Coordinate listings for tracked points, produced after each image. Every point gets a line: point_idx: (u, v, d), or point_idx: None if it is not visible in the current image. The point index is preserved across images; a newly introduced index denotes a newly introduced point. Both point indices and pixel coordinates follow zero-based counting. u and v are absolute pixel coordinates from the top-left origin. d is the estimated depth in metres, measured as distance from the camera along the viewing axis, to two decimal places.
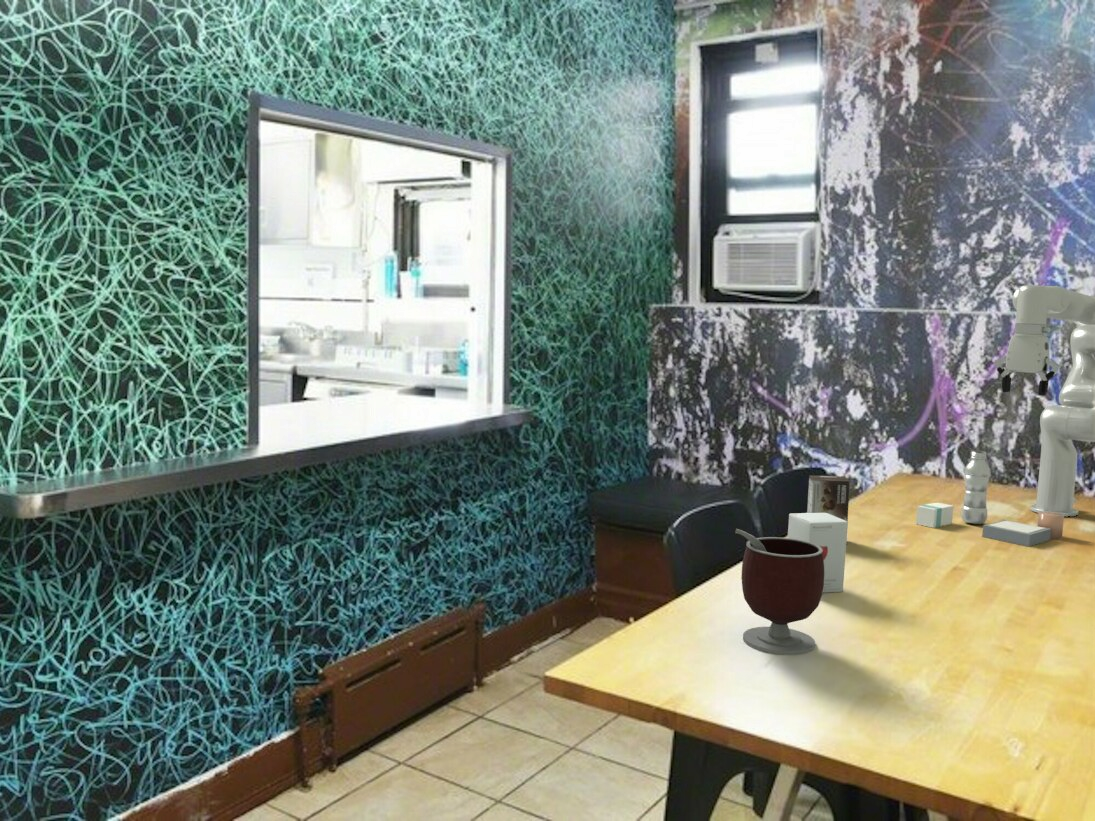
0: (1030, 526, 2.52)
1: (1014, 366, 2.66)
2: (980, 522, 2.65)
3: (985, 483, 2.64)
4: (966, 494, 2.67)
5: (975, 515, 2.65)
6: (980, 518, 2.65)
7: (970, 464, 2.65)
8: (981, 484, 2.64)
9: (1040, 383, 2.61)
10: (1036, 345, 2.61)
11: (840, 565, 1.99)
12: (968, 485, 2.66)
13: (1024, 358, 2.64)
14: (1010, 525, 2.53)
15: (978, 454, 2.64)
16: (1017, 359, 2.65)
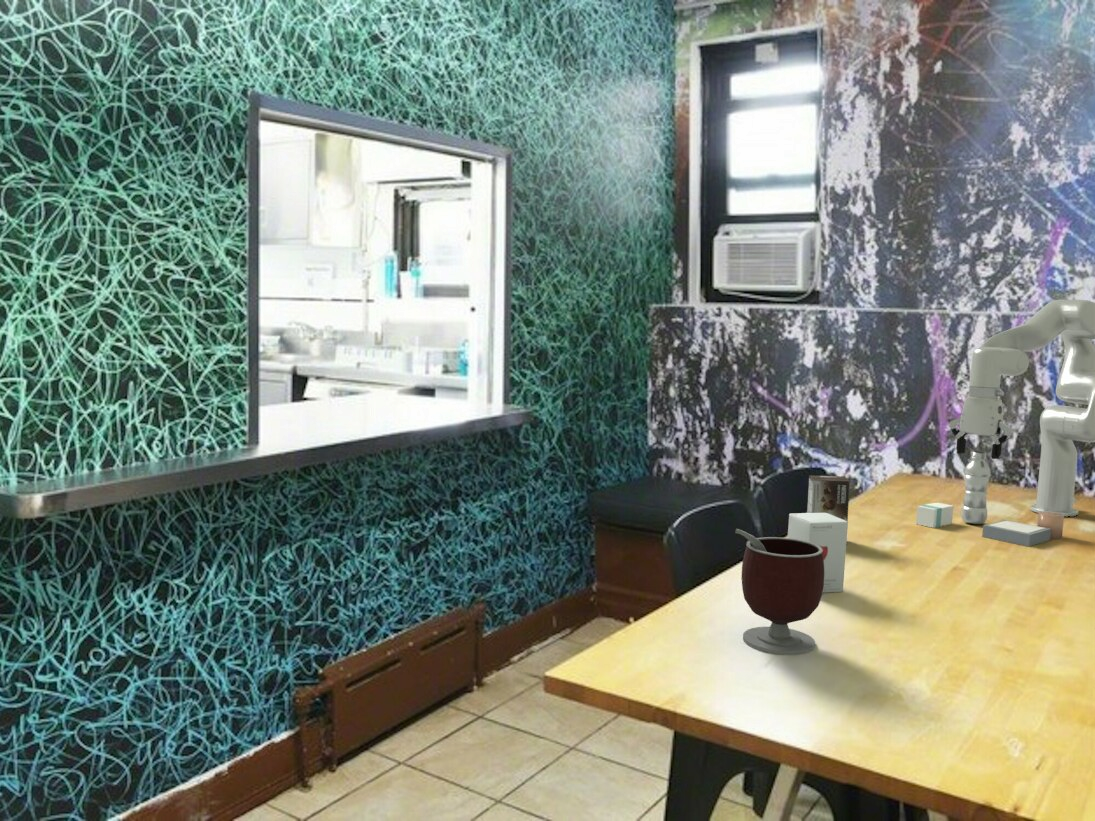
0: (1030, 526, 2.52)
1: (968, 428, 2.65)
2: (980, 522, 2.65)
3: (985, 483, 2.64)
4: (966, 494, 2.67)
5: (975, 515, 2.65)
6: (980, 518, 2.65)
7: (970, 464, 2.65)
8: (980, 484, 2.64)
9: (993, 447, 2.61)
10: (989, 408, 2.60)
11: (840, 565, 1.99)
12: (968, 485, 2.66)
13: (978, 421, 2.63)
14: (1010, 525, 2.53)
15: (978, 454, 2.64)
16: (971, 421, 2.64)
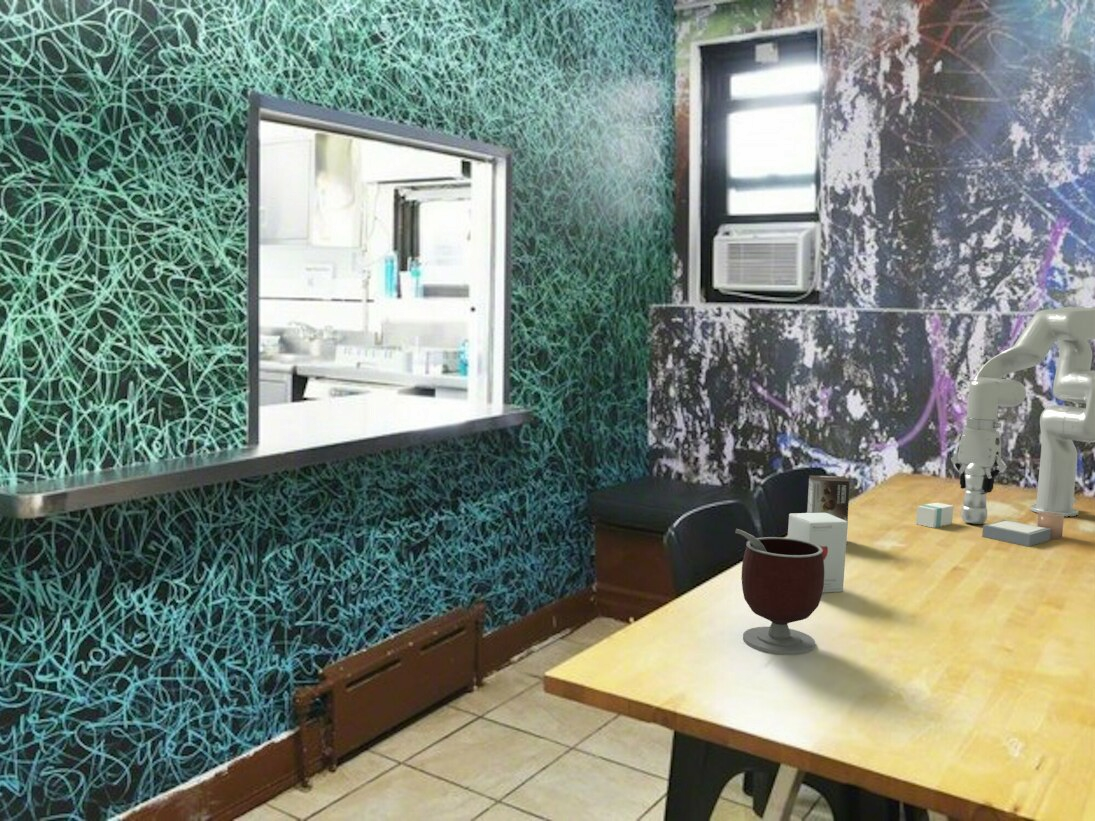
0: (1030, 526, 2.52)
1: (966, 460, 2.66)
2: (980, 522, 2.65)
3: None
4: (966, 494, 2.67)
5: (975, 515, 2.65)
6: (980, 518, 2.65)
7: (970, 464, 2.65)
8: (981, 484, 2.64)
9: (985, 481, 2.63)
10: (987, 440, 2.62)
11: (840, 565, 1.99)
12: (968, 485, 2.66)
13: (975, 452, 2.64)
14: (1010, 525, 2.53)
15: None
16: (969, 453, 2.65)
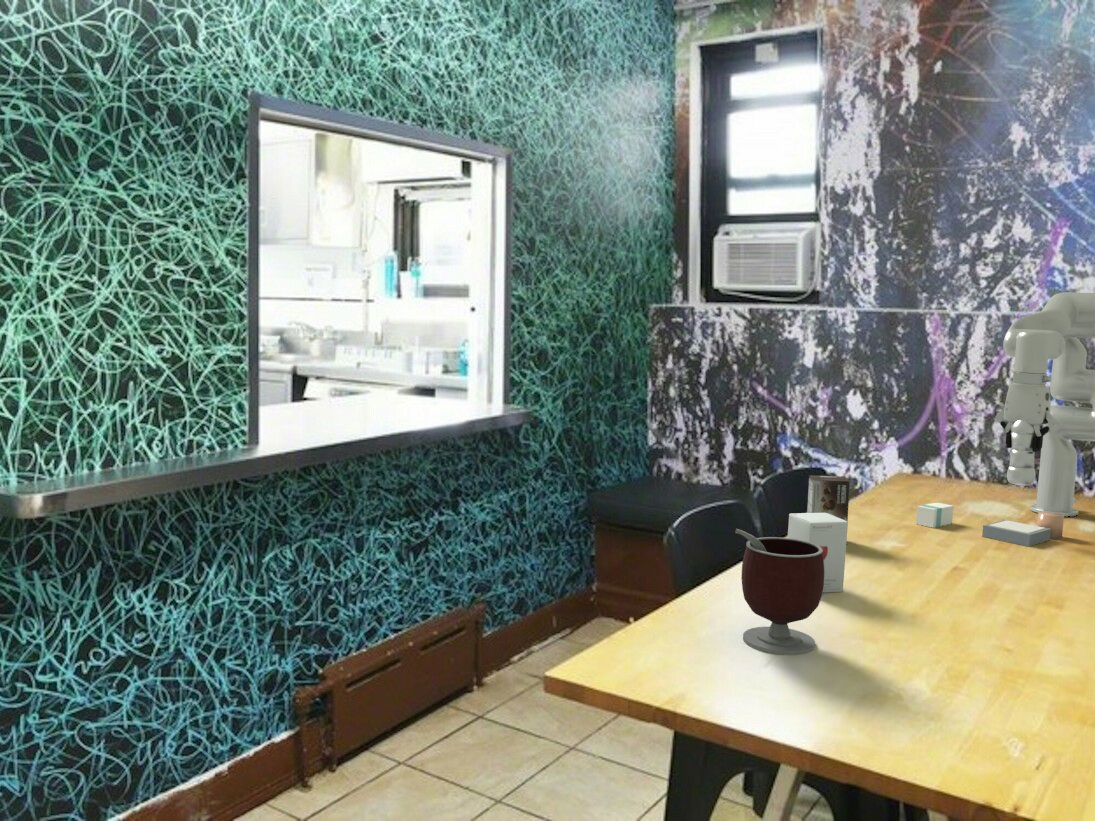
0: (1030, 526, 2.52)
1: (1013, 417, 2.49)
2: (1028, 483, 2.48)
3: None
4: (1013, 454, 2.49)
5: (1022, 476, 2.47)
6: (1027, 479, 2.47)
7: (1017, 421, 2.48)
8: (1029, 443, 2.47)
9: (1034, 439, 2.46)
10: (1036, 395, 2.44)
11: (840, 565, 1.99)
12: (1014, 444, 2.49)
13: (1023, 409, 2.47)
14: (1010, 525, 2.53)
15: None
16: (1016, 410, 2.48)
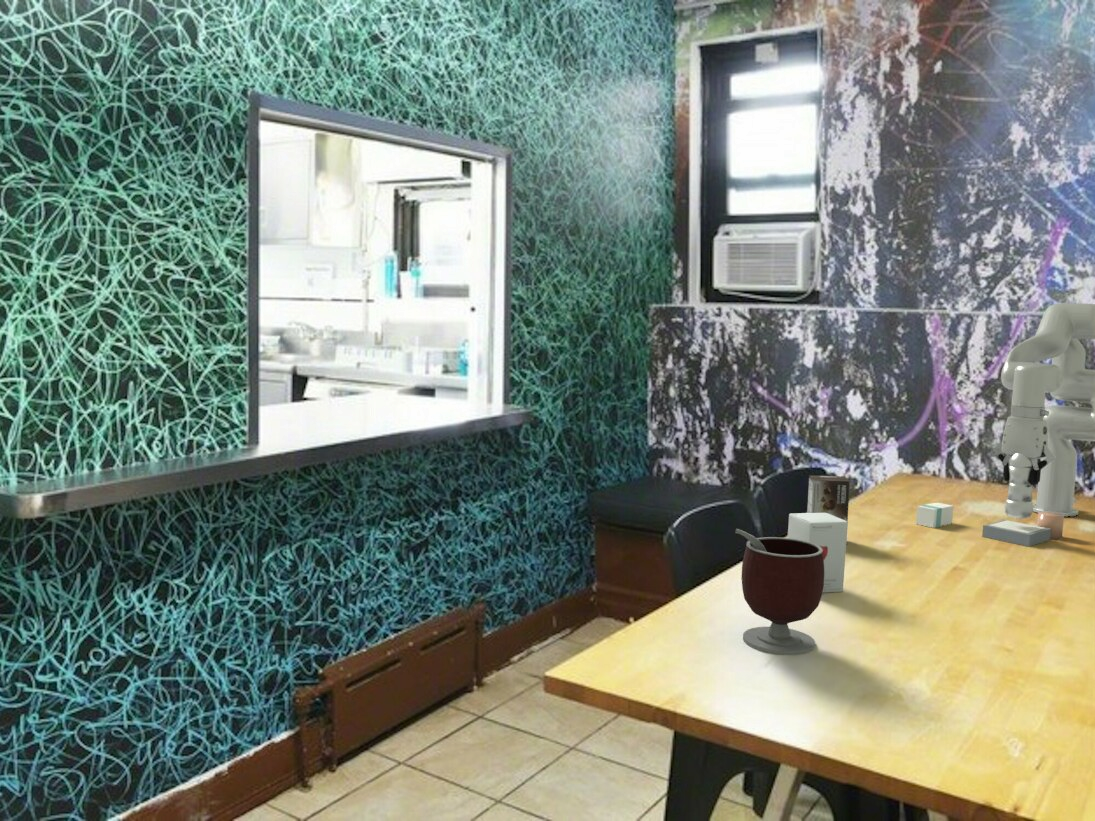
0: (1030, 526, 2.52)
1: (1011, 450, 2.50)
2: (1025, 517, 2.49)
3: None
4: (1010, 487, 2.50)
5: (1020, 510, 2.48)
6: (1025, 513, 2.48)
7: (1015, 455, 2.49)
8: (1026, 476, 2.47)
9: (1032, 472, 2.47)
10: (1033, 429, 2.45)
11: (840, 565, 1.99)
12: (1012, 477, 2.49)
13: (1021, 442, 2.47)
14: (1010, 525, 2.53)
15: None
16: (1014, 443, 2.49)
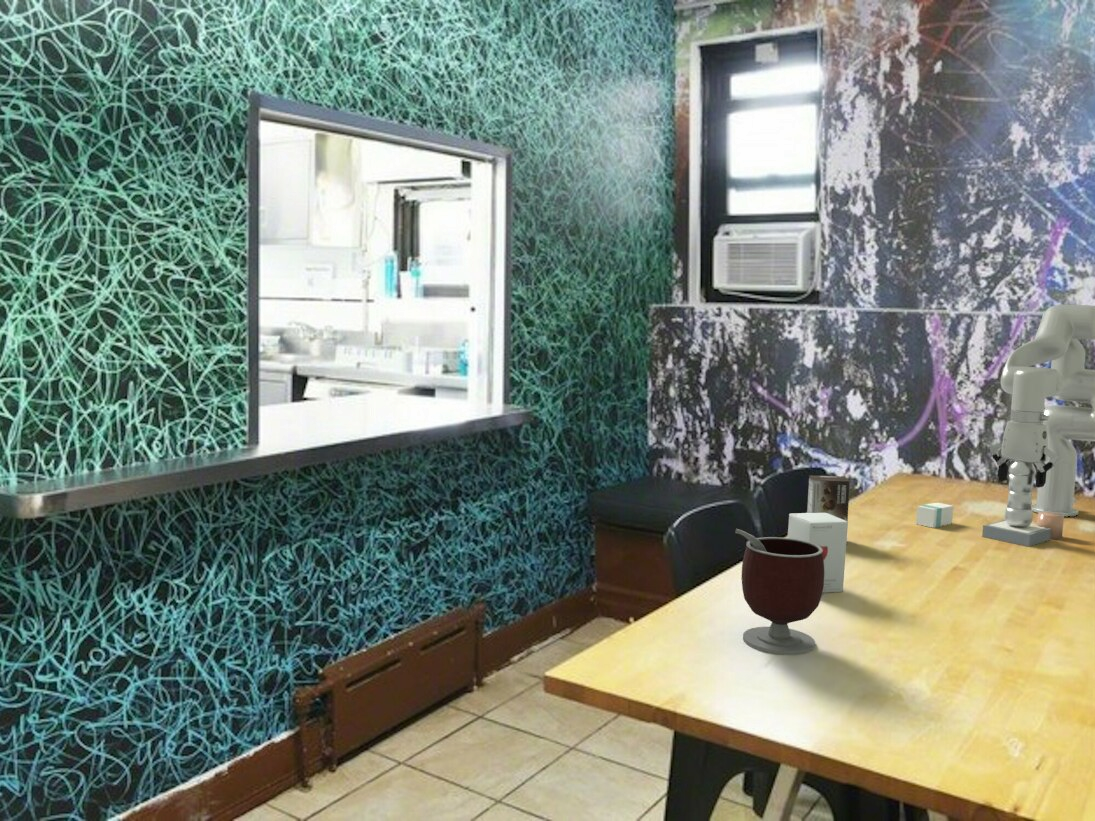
0: (1030, 526, 2.52)
1: (1010, 454, 2.50)
2: (1026, 525, 2.49)
3: (1031, 482, 2.48)
4: (1010, 495, 2.51)
5: (1021, 518, 2.49)
6: (1025, 521, 2.49)
7: (1015, 463, 2.49)
8: (1026, 484, 2.48)
9: (1037, 474, 2.45)
10: (1033, 434, 2.45)
11: (840, 565, 1.99)
12: (1012, 485, 2.50)
13: (1021, 447, 2.48)
14: (1010, 525, 2.53)
15: None
16: (1013, 447, 2.49)
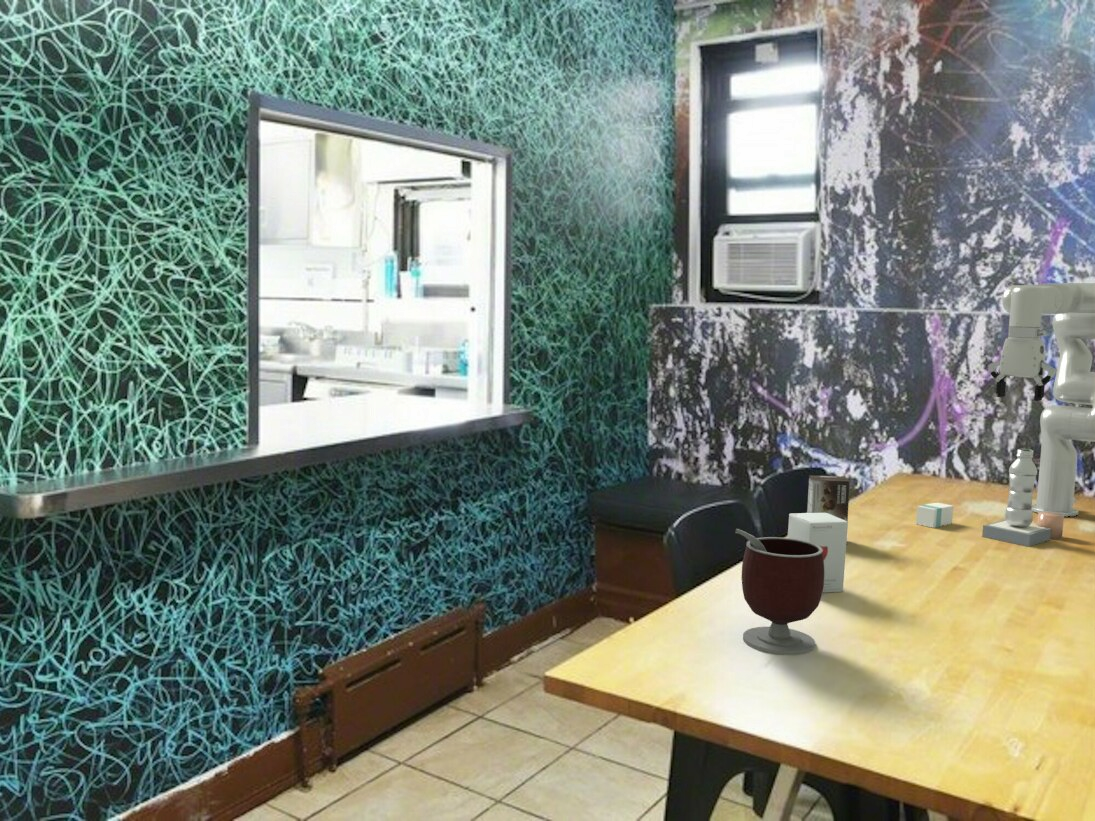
0: (1030, 526, 2.52)
1: (1009, 370, 2.56)
2: (1026, 525, 2.49)
3: (1032, 483, 2.48)
4: (1011, 495, 2.51)
5: (1021, 518, 2.49)
6: (1026, 521, 2.49)
7: (1016, 463, 2.49)
8: (1027, 484, 2.48)
9: (1036, 388, 2.52)
10: (1031, 348, 2.51)
11: (840, 565, 1.99)
12: (1013, 485, 2.50)
13: (1019, 362, 2.54)
14: (1010, 525, 2.53)
15: (1025, 452, 2.48)
16: (1012, 363, 2.55)
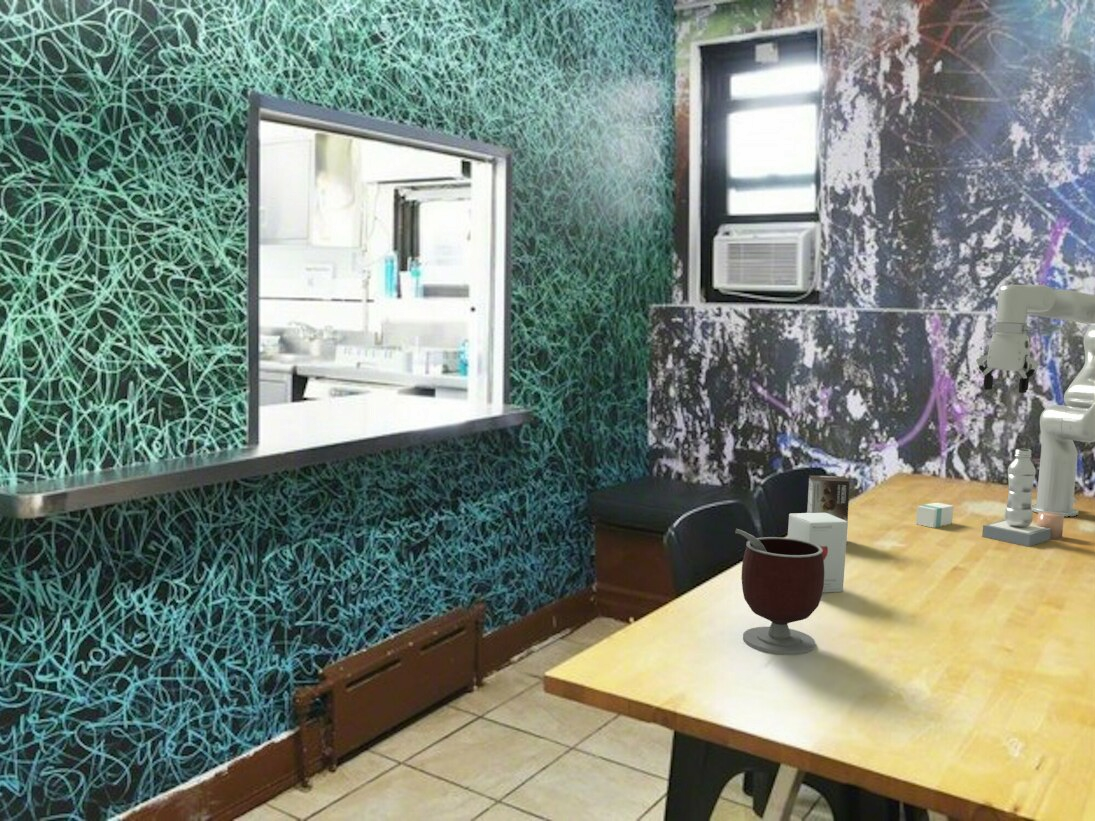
0: (1030, 526, 2.52)
1: (995, 364, 2.71)
2: (1026, 524, 2.49)
3: (1031, 482, 2.48)
4: (1010, 495, 2.51)
5: (1021, 518, 2.49)
6: (1025, 520, 2.49)
7: (1014, 463, 2.49)
8: (1026, 484, 2.48)
9: (1020, 381, 2.66)
10: (1016, 343, 2.66)
11: (840, 565, 1.99)
12: (1012, 485, 2.50)
13: (1005, 356, 2.68)
14: (1010, 525, 2.53)
15: (1023, 452, 2.48)
16: (998, 357, 2.70)
